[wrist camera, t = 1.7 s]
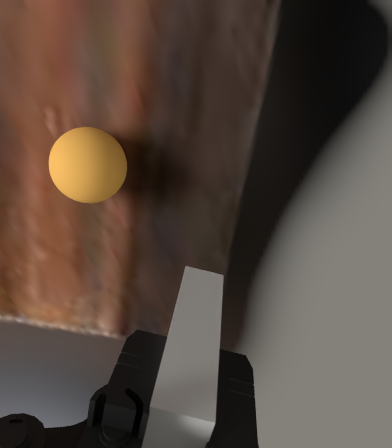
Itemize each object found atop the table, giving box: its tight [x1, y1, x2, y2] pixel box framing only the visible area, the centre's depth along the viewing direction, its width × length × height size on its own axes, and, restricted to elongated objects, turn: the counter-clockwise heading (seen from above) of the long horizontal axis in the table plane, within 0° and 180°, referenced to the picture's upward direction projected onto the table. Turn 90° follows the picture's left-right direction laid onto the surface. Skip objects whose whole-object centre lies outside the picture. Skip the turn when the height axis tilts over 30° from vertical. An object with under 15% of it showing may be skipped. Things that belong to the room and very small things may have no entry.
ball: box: [49, 127, 127, 203], centre depth 27 cm, size 6×6×6 cm
